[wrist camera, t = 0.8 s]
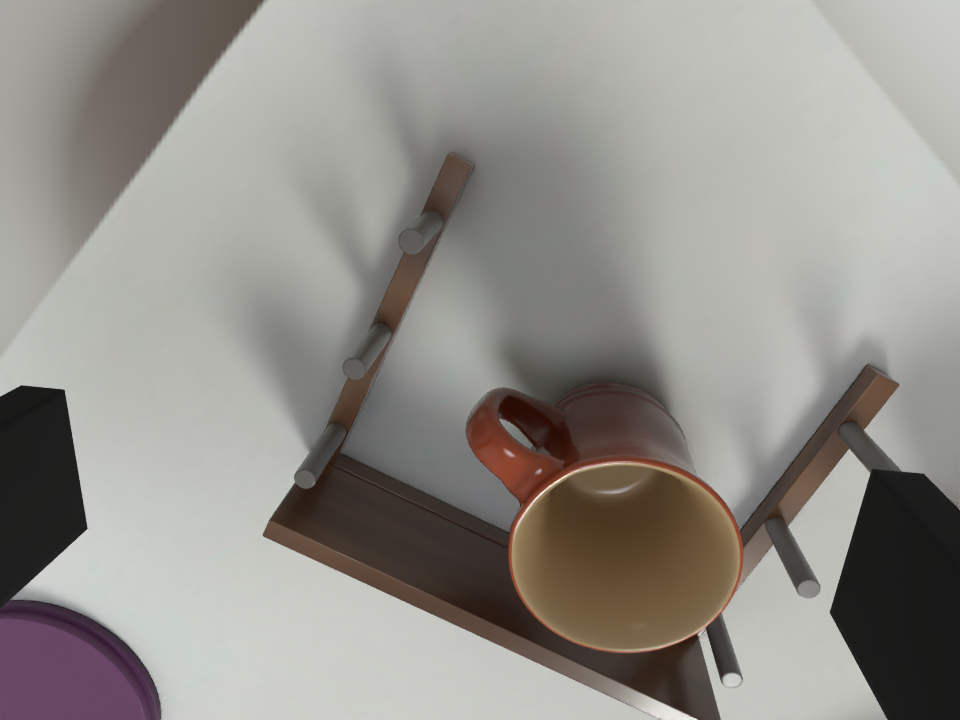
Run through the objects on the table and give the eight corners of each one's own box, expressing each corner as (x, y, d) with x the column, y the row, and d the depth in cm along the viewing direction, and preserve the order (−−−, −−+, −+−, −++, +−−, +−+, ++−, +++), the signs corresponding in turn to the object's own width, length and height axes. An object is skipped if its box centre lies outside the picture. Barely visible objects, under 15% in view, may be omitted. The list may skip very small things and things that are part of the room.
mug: (730, 432, 35) (796, 557, 25) (611, 541, 38) (629, 689, 28) (548, 282, 33) (545, 355, 24) (438, 408, 36) (395, 518, 27)
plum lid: (-32, 563, 43) (-48, 576, 42) (188, 661, 44) (178, 676, 43) (-69, 718, 48) (-84, 732, 47) (128, 802, 49) (119, 819, 48)
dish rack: (451, 151, 32) (423, 164, 25) (888, 375, 33) (973, 444, 26) (313, 461, 38) (261, 538, 31) (684, 636, 40) (711, 745, 33)
